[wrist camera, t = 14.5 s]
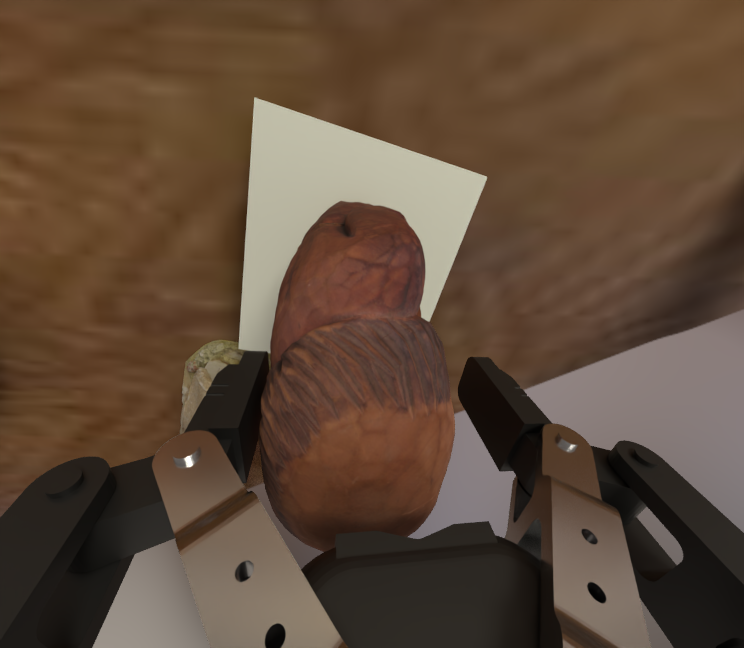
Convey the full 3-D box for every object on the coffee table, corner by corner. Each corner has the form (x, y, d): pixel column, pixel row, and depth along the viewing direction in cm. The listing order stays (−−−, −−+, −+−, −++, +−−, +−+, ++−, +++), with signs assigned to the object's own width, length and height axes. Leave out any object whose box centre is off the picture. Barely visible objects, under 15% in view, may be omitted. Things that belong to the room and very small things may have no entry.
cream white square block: (455, 175, 26) (487, 177, 20) (396, 340, 33) (408, 372, 28) (272, 115, 22) (254, 97, 17) (254, 317, 30) (238, 349, 24)
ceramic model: (197, 321, 29) (139, 387, 20) (303, 353, 32) (293, 422, 23) (174, 416, 34) (120, 501, 25) (267, 435, 37) (248, 515, 29)
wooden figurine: (381, 339, 25) (447, 608, 10) (309, 337, 25) (253, 628, 9) (399, 197, 20) (619, 284, 4) (308, 188, 19) (157, 253, 3)
